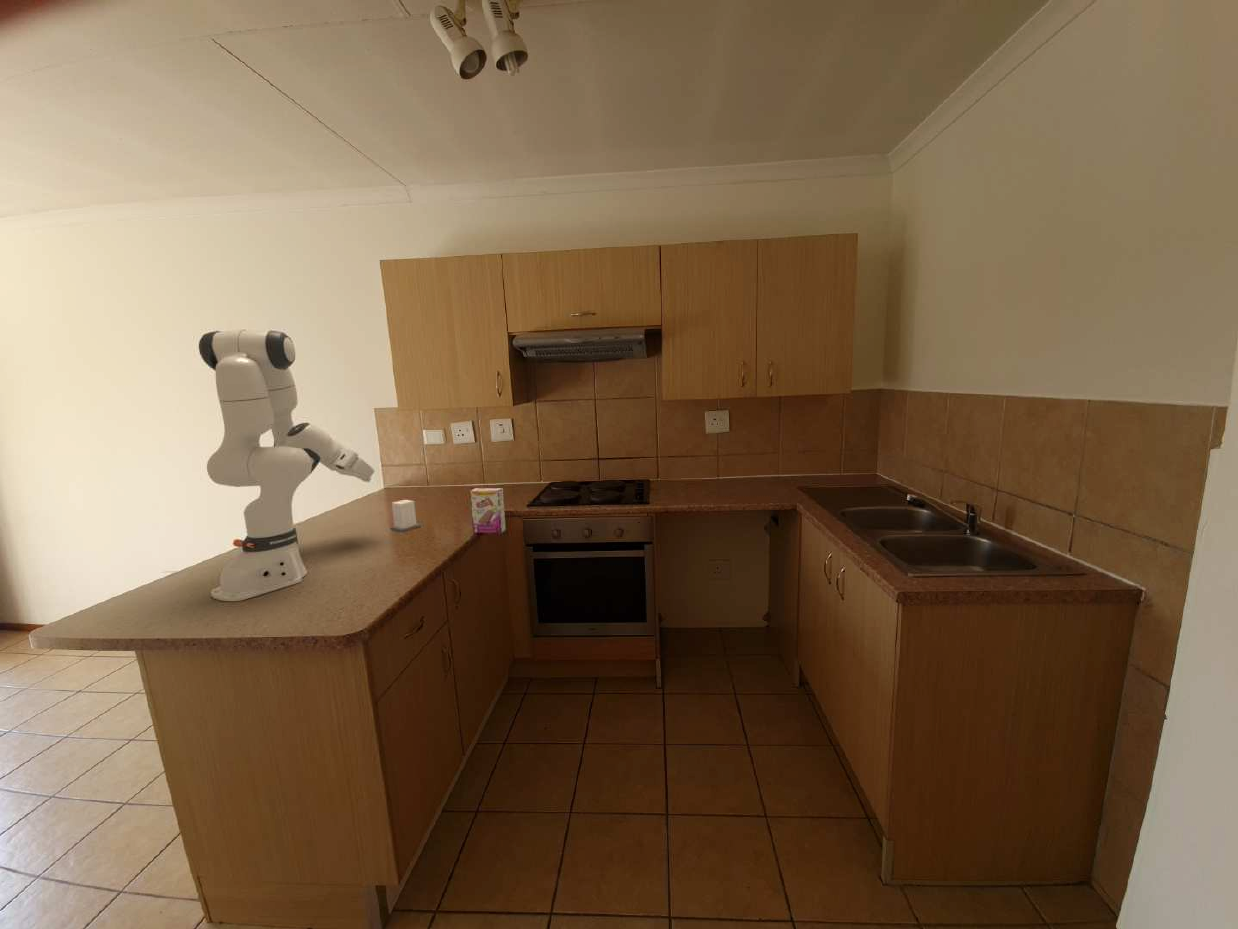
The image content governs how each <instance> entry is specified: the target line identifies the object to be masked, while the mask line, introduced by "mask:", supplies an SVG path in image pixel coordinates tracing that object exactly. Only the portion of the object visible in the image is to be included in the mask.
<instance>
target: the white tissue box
mask: <svg viewBox="0 0 1238 929" xmlns="http://www.w3.org/2000/svg"><path fill="white" fill-rule="evenodd" d="M391 509H392V517H393V526H394V527H398V528H402V529H404V528H407V527H411V526H414V525H417V524H418V523H417V516H416V507H415V501H414V500H410V499H409V500H408V499H402V500H398V501H393V502H391Z"/></svg>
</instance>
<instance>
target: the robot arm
mask: <svg viewBox="0 0 1238 929" xmlns="http://www.w3.org/2000/svg"><path fill="white" fill-rule="evenodd" d="M198 350H199V355H200V357H201V359H202V360H203V362H204V364H206V366H208V367H209V368H210V369H212V370H214V371H215V386H216V391H217V392H216V393H217V398H218V400H219V405H220V409H221V414H222V420H223V425H224V432H223V433H224V434H223V438H222V442H221V444H220V446H219V447H218V449H217V450H216V451H215V452H214V453H213V454H211V456H210V457H209V458H208V461H207V463H206V470H207V471H206V472H207V474H208V476H209V479H210V480H211V481H212V482H213V483H215V484H217V485H221V486H228V487H235V488H240V487H241V488H242V487H260V492H259V496H258V498H256V499H254V500H253V501H251V502H249V503H248V504H247V505H246V506H245V509H244V511H243V516H244V521H245V529H246V534H247V535H246V536H245V538H244V540H243V539H238V538H236V539H234V540H233V541H232V545H233V546H234V547H238V548H242V550H241V552H240V553H239V554H237V556H236V557H235V558H234V559H232V560H231V561H230V562H229V563H228V564H227V565H226V566H225V567H224V568H223V569H222V571H221V572H220V576H219V577H220V578H219V585H220V586H218V587H215V588H213V589H211V591H210V596H211V597H212V599H216V600H218V601H222V602H223V601H224V602H240V601H244V600H247V599H250V598H251V599H252V598H253V597H257V596H261V595H263V594H268V593H270V592H273V591H276V590H280V589H282V588H286V587H290V586H293V585H296V584H299V583H301V582H302V579H303V578H304V577H305V576H306V575H307V574H308V570H307V569H306V566H305V565H304V563H303V559H302V557H301V554H300V550H299V547H298V544H299V542H298V540H299V539H298V534H297V533H298V532H297V529H296V527H294V520H293V519H294V518H293V509H292V508H293V498H294V495H295V493H296V490H297V489H298V488H299V486H300V485H301V484H302V483H303V482H304V481H306V480H307V478H308V477H309V476H310V475H311V474H312V473H313V471H314V470H315V469H316V467H318V465H319V463H320V464H322V466H324V467H326V468H327V469H329V470H330V471H332V472H333V471H335V472H336V473H338V474H340V475H343V476H348V477H349V476H350V477H355V478H357V479H359V480H361V481H362V482H363V483H364V482H365V483H370V482H371V480H372V476H373V475H374V473H375V470H374V468H373V467H372V466H371V465H370V464H368V462H366V461H365V460H364V459H363V458H361V457H359V453H357V451H356V452H355V451H354V450H351V449H349V448H347V447H346V446H345V445H343V444H341V442H339V441H336V440H335V439H333V438H332V437H331V435H329V433H327V432H325V431H324V430H322V429H321V428H320V427H318V426H316V425H314V424H313V423H310V422H302V423H298V424H297V425H294V422H293V417H292V416H293V415H292V414H293V413H292V412H293V411H294V410H296V407H297V406H298V392H297V388H296V384H295V381H294V377H293V375H292V371H291V369H290V367H291V366H292V365H293V363H294V362H295V360H296V348H295V346H294V343H293V341H292V339H291V338H290V337H289V336H288V335H287V334H286V333H285V332H281V331H278V330H277V331H276V330H269V331H268V330H267V331H265V330H253V329H252V330H251V329H250V330H249V329H232V330H225V331H223V330H222V331H221V330H216V331H215V330H214V331H210V332H206V333H204V334H203V335H202V337H201V338H200V340H199V341H198ZM269 430H271V434H272V437H273V440H274V441H273V446H261V444H260V439H261V436H262V435H263V434H266V433H267V432H268V431H269Z"/></svg>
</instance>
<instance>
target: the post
mask: <svg viewBox="0 0 1238 929" xmlns="http://www.w3.org/2000/svg"><path fill="white" fill-rule="evenodd" d="M416 524H417V525H414V526H411V527H407V528H404V529H402V528H398V527H394V525H391V526H389V527H390V528H389V529H390V530H394V531H397V532H401V533H404V532H407V531H410V530H414V529H418V528H421V527H422V525H421V523H416Z"/></svg>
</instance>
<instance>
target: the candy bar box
mask: <svg viewBox="0 0 1238 929" xmlns="http://www.w3.org/2000/svg"><path fill="white" fill-rule="evenodd" d="M469 494H470V495H469V496H470V507H471V520H472V533H473V534H489V535H490V534H496V535H498V534H500V535H501V534H503V533H504V532H505V531H506V530H507V529H506V514H505V500H504V489H503V488H502V487H501V488H500V487H498V488H493V487H492V488H490V487H489V488H487V487H485V488H484V487H483V488H482V487H481V488H478V487H477V488H473V489H472V490H470V491H469Z"/></svg>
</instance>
